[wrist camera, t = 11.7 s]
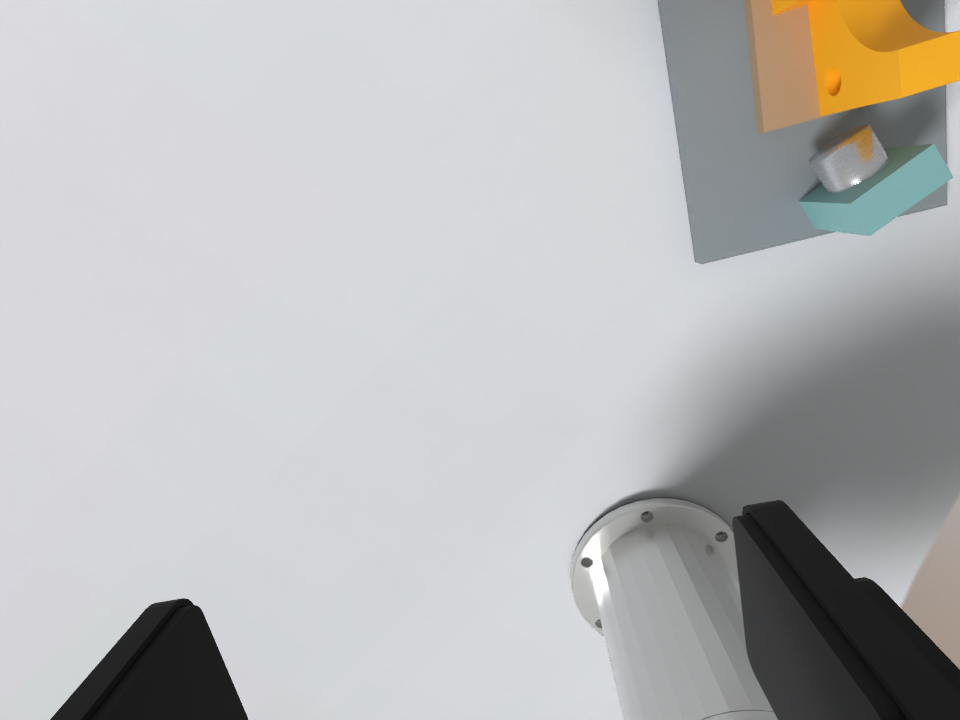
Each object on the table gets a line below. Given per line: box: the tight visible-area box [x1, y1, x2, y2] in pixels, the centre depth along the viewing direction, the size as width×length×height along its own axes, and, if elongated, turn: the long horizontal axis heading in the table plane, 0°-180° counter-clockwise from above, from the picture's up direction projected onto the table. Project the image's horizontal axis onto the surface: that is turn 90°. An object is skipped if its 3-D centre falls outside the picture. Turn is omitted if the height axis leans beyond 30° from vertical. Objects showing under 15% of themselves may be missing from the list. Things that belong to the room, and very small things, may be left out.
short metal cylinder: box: [809, 124, 890, 194], centre depth 30 cm, size 4×3×3 cm, turn 40°
